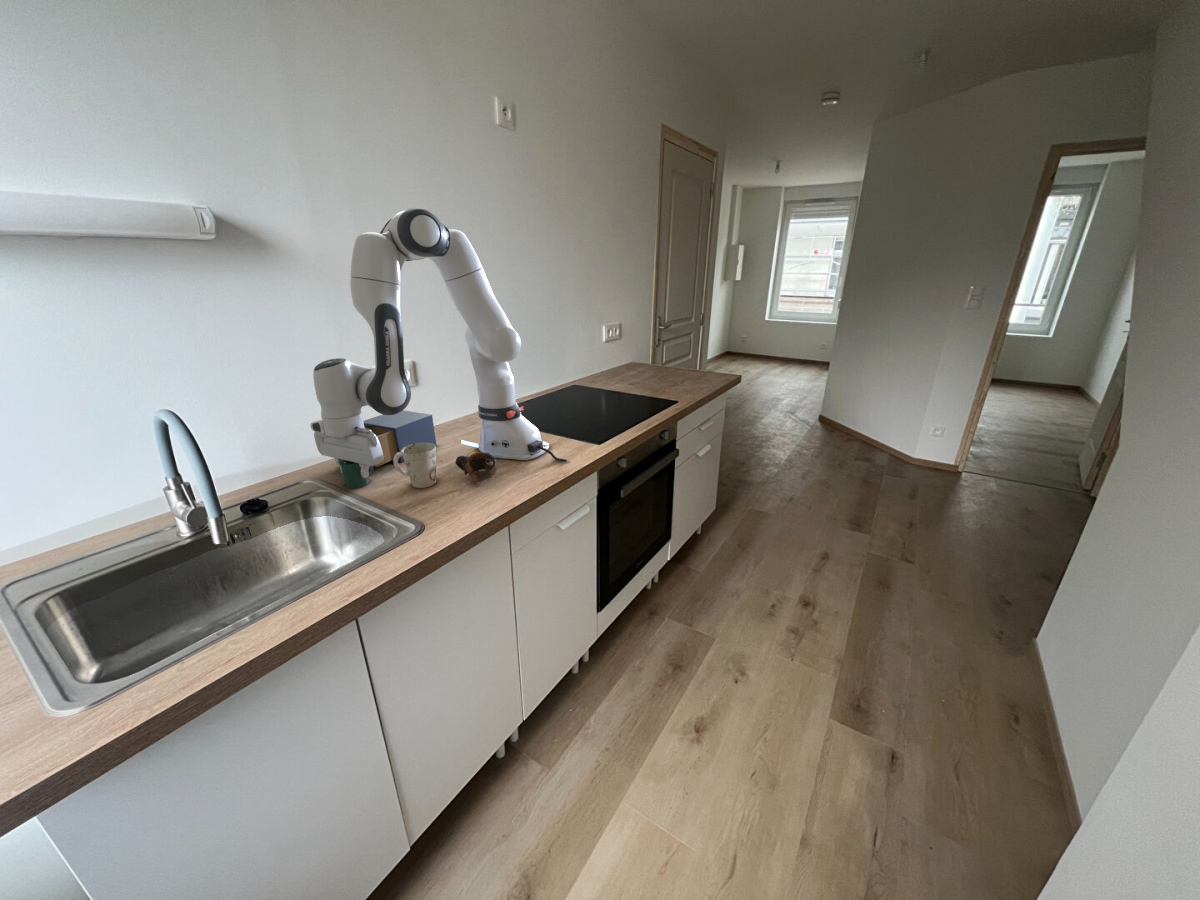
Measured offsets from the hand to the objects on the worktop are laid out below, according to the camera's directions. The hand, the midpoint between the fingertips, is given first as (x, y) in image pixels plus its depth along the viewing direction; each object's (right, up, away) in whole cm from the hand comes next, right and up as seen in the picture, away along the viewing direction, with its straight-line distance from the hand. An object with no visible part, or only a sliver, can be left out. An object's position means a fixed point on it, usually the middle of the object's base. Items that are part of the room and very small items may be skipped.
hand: (355, 474), depth 119 cm
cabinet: (+2, +6, +24) cm, 24 cm away
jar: (0, -2, +1) cm, 3 cm away
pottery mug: (+31, -1, +4) cm, 32 cm away
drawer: (-3, +3, +12) cm, 13 cm away
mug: (+16, -2, +2) cm, 16 cm away
